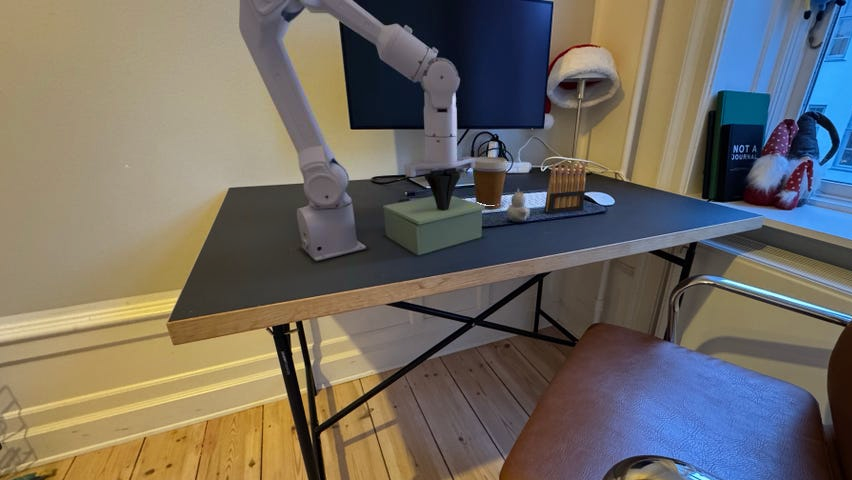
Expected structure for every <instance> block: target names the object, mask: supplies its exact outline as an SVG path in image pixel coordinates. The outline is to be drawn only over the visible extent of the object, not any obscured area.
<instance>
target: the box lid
mask: <svg viewBox="0 0 852 480" xmlns="http://www.w3.org/2000/svg"><path fill="white" fill-rule="evenodd" d="M382 207H383V208H382V209H383V210H384V209H385V210H387V211H389V212H391V213H394V214H396V215H398V216H400V217H402V218H405V219H407V220H409V221H411V222H413V223H416V224H418V225H420V224H424V223H428V222H433V221H437V220H441V219H445V218H450V217H454V216H458V215H463V214H467V213H471V212H475V211H480V210H482V211H484V210H486V209H485V206H483V205H480V204H476V202H473V201H469V200H466V199H463V198H461V197H457V196H455V195H452V197H451V201H450V205H449V209H448V210H444V211H442V210H439V209H437V205H436V201H435V198H434V195H432V196H428V197H423V198H417V199H412V200H407V201H402V202H395V203H390V204H385V205H382Z"/></svg>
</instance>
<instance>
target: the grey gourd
mask: <svg viewBox="0 0 852 480" xmlns="http://www.w3.org/2000/svg"><path fill="white" fill-rule="evenodd" d="M510 202H511V204H510V205H509V206H508V207H507V209H506V218H507V219H509V220H510V221H512V222H515V223H519V222H524V221H526V220H527V219H528V218H529V217H530V213H531V210H530V208H529V207H527V206H526V205H525V204H526V197H525V194H524V192H523V191H520V188H519V187H517V191H515V192H514V194H513V195H512V196H511V201H510Z"/></svg>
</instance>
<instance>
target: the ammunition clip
mask: <svg viewBox="0 0 852 480" xmlns="http://www.w3.org/2000/svg"><path fill="white" fill-rule="evenodd" d="M574 167H575V168H574ZM586 174H587V165H586V162H584V163H583V164H582V165H580V162H577V164H576V166H574V163H571V164H570V166H568V163H565V165H564V167H562V164H561V163H560V164H559V165H558V167H557V169H556V165H555V164H552V167H551V172H550V177H549V180H548V186H547V187H548V189H547V192H546V196H545V204H544V212H545V213H546V214H550V215H551V214H557V213H558V214H559V213H567V212H576V211H578V212H579V211H583V210H584V204H585V203H584V202H585V195H586V190H585V186H586Z"/></svg>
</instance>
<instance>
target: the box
mask: <svg viewBox="0 0 852 480" xmlns="http://www.w3.org/2000/svg"><path fill="white" fill-rule="evenodd" d="M383 218H384V227H385V236H386V237H387V238H388V239H390V240H392V241H393V242H395V243H397V244H399V245H400V246H401V247H403V248H405V249H406V250H408V251H410V252H411V253H413V254H415V255H417V256H421V255H424V254H429V253H432V252H435V251H438V250H441V249H442V250H443V249H445V248H449V247H452V246H456V245H459V244H463V243H466V242H469V241H473V240H476V239H480V238H482V236H483V235H482V233H483V232H482V231H483V210H480V211H475V212H471V213H467V214H463V215H458V216H454V217H450V218H445V219H441V220H437V221H433V222H428V223H424V224H420V225H418V224H416V223H413V222H411V221H409V220H407V219H405V218H402V217H400V216H398V215H396V214H394V213H391V212H389V211H387V210H385V209H383Z"/></svg>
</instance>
